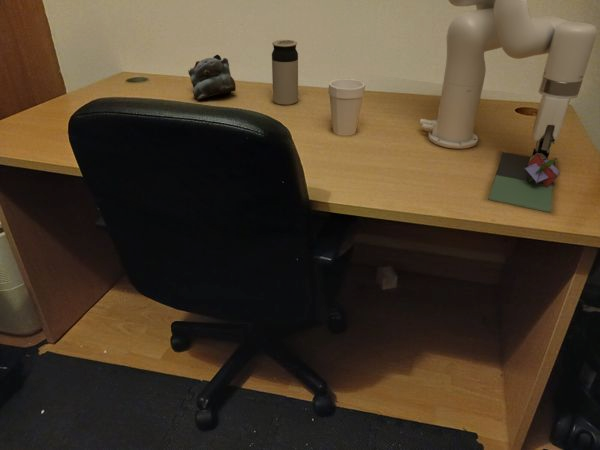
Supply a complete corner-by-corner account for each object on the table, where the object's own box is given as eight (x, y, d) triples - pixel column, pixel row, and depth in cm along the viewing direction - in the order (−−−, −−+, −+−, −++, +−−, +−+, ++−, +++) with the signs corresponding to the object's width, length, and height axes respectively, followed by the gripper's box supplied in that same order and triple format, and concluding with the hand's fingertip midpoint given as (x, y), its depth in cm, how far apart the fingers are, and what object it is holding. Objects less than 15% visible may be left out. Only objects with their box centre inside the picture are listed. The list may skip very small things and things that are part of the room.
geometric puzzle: (572, 181, 102) (562, 145, 101) (548, 191, 100) (537, 155, 99) (546, 184, 109) (536, 150, 108) (523, 194, 107) (512, 160, 106)
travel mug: (302, 100, 154) (303, 41, 144) (289, 107, 148) (288, 46, 138) (282, 95, 157) (281, 38, 148) (268, 102, 152) (266, 43, 142)
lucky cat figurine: (187, 102, 151) (176, 58, 150) (202, 105, 163) (192, 64, 161) (231, 90, 148) (220, 44, 146) (243, 94, 159) (233, 52, 158)
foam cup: (366, 128, 134) (369, 81, 127) (355, 140, 127) (358, 91, 120) (334, 122, 137) (336, 77, 130) (322, 134, 130) (323, 86, 123)
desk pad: (488, 199, 101) (488, 198, 100) (502, 153, 120) (502, 152, 120) (550, 212, 96) (550, 211, 96) (554, 162, 116) (555, 161, 116)
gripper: (540, 75, 107) (520, 152, 117) (539, 94, 95) (518, 177, 105) (578, 79, 104) (554, 156, 114) (582, 99, 93) (555, 183, 102)
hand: (537, 166), depth 110 cm, fingers closed
